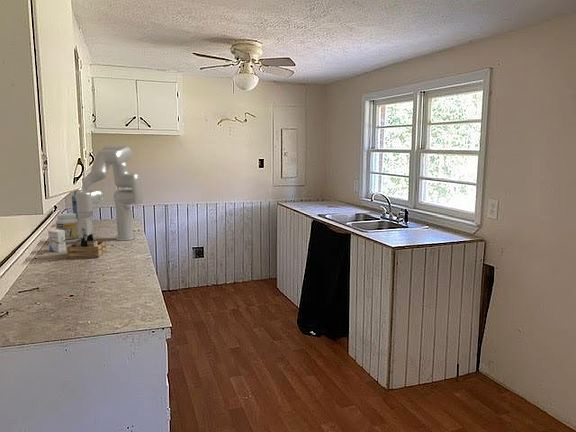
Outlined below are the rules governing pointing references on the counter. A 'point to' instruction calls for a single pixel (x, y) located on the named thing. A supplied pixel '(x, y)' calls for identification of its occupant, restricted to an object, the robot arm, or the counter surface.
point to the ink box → (57, 240)
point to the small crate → (90, 244)
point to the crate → (74, 254)
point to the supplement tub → (68, 226)
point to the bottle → (74, 204)
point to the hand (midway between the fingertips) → (87, 245)
